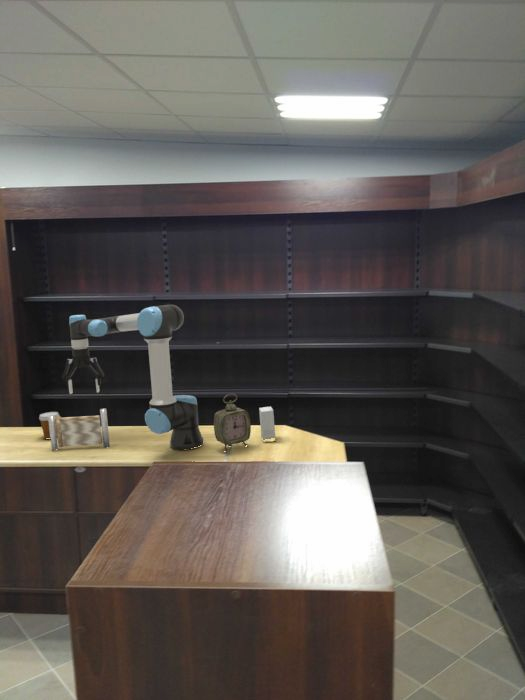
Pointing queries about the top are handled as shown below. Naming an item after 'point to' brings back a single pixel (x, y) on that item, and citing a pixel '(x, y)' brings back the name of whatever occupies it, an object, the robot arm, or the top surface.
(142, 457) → the top surface
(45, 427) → the disposable coffee cup
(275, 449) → the top surface
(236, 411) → the tabletop clock
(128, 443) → the top surface
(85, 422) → the gate
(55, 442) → the post
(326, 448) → the top surface
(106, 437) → the hinge post
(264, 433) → the skincare box
